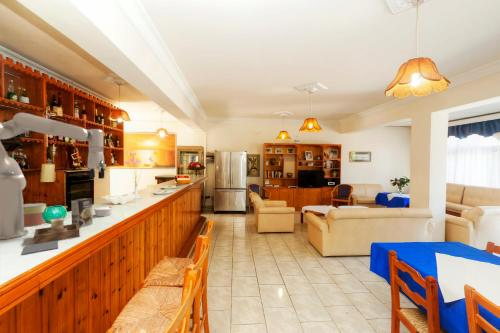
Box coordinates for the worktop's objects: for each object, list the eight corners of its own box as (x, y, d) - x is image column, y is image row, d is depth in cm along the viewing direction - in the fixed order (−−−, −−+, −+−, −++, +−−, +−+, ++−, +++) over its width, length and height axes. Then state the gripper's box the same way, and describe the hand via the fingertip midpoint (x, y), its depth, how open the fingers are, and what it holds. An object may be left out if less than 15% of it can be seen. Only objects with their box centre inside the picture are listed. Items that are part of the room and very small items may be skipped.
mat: (22, 255, 106) (22, 253, 106) (25, 246, 116) (25, 245, 116) (58, 248, 114) (58, 247, 114) (57, 241, 123) (57, 240, 123)
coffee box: (80, 228, 146) (79, 200, 145) (71, 227, 147) (70, 200, 146) (93, 223, 155) (92, 198, 154) (84, 223, 156) (83, 197, 155)
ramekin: (115, 215, 177) (114, 207, 177) (97, 218, 169) (97, 210, 169) (109, 212, 185) (109, 205, 184) (92, 215, 176) (92, 208, 176)
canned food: (26, 223, 156) (25, 204, 156) (48, 220, 162) (48, 202, 161) (19, 227, 146) (19, 207, 146) (44, 225, 152) (43, 205, 151)
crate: (34, 244, 119) (33, 236, 119) (36, 236, 130) (35, 229, 130) (79, 236, 130) (79, 229, 130) (77, 230, 141) (77, 223, 141)
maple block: (51, 233, 126) (51, 221, 126) (51, 230, 130) (51, 219, 130) (63, 231, 130) (63, 220, 129) (63, 229, 133) (63, 218, 133)
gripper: (81, 149, 151) (82, 177, 152) (98, 149, 143) (98, 179, 143) (94, 150, 158) (94, 176, 158) (111, 150, 149) (111, 178, 150)
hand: (96, 178), depth 151 cm, fingers open, 9 cm apart
